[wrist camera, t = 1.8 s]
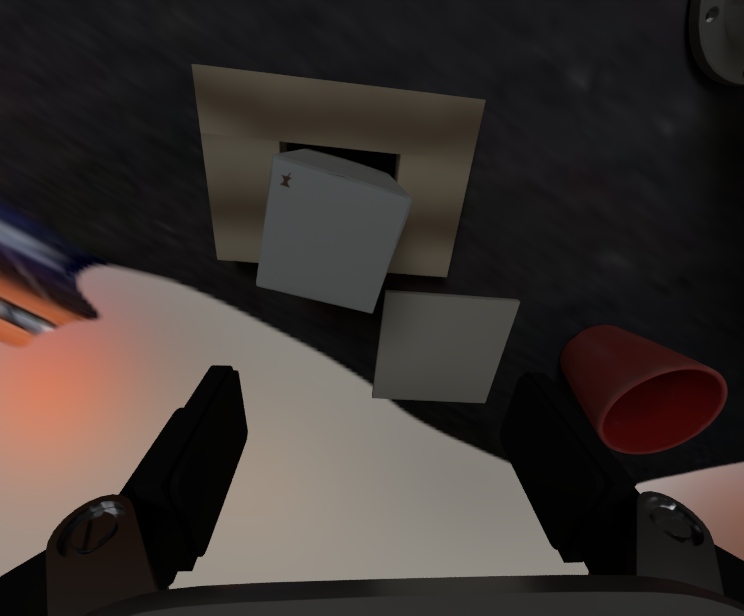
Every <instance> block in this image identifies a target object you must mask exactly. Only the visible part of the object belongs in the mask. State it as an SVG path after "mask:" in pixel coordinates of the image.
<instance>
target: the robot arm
mask: <svg viewBox="0 0 744 616" xmlns="http://www.w3.org/2000/svg"><path fill="white" fill-rule="evenodd" d="M689 41H690V45H691V49H692V54H693V56H694V58H695V60H696V62H697V64H698V66H699V68H700V69H701V70H702V71H703V72H704V73H705V74H706V75H707V76H708V77H709V78H710V79H712V80H714V81H716V82H718V83H720V84H724V85H729V86H744V0H691V6H690V13H689ZM247 434H248V429H247V423H246V416H245V410H244V404H243V397H242V392H241V385H240V378H239V373H238V371H236V370H233V368H232V366H218V365H216V366H215V365H213V366H211V367H210V368H209V370H208V371H207V373H206V374H205V376H204V377H203V379H202V380H201V382H200V384H199V385H198V387H197V388H196V390H195V391H194V393H193V394H192V396H191V397H190V399H189V400H188V402H187V403H186V405H185V407H184V408H179V409H177V410H176V411H175V412H174V413H173V415H172V416H171V418H170V419H169V421H168V422H167V424H166V425H165V427H164V428H163V430H162V431H161V433H160V434H159V436H158V437H157V439H156V440H155V441H154V443H153V444H152V446H151V448H150V449H149V450H148V452H147V453H146V455H145V456H144V458H143V459H142V461H141V462H140V464H139V465H138V467H137V468H136V470H135V471H134V473H133V474H132V476H131V477H130V479H129V480H128V482H127V483H126V484H125V486H124V488H123V489H122V491H121V492H120V494H119V495H114V494H112V495H107V496H101V497H99V498H96V499H94V500H91V501H89V502H87V503H85V504H84V505H82V506H80V507H79V508H77V509H76V510H74V511H73V512H72V513H71V514H69V515H68V516H67V517H66V518H65V519H63V521H62V522H61V523H60V524H59V525H58V526H57V528H56V529H55V530H54V531H53V533H52V535H51V537H50V539H49V541H48V543H47V548H46V550H44V551H43V552H41V553H39V554H38V555H36V556H34V557H33V558H31V559H29V560H27V561H26V562H24V563H23V564H21V565H19V566H17V567H16V568H14V569H12V570H11V571H9V572H8V573H6V574H4V575H2V576H1V577H0V616H744V561H743V560H741V559H739V558H738V557H736V556H734V555H732V554H731V553H729V552H727V551H725V550H723V549H722V548H720V547H718V546H717V545H715V544H714V542H713V539H712V536H711V534H710V531H709V530H708V529H707V527H706V526H705V524H704V523H703V522H702V521H701V520H700V519H699V518H698V517H697V516H696V515H695V514H694V513H693V512H692V511H691V510H689V509H688V508H687V507H686V506H684V505H683V504H681V503H680V502H678V501H676V500H675V499H673V498H671V497H669V496H666V495H664V494H661V493H657V492H652V491H648V492H643V493H641V494H640V493H639V492H638V491H637V490H636V488H635V486H636V485H637V483H636V482H635V481H634V480H633V479H632V477H631V476H630V475H629V474H628V473H627V471H626V470H625V469H624V468H623V467H622V465H621V464H620V463H619V462H618V461H617V459H616V458H615V457H614V456H613V455H612V453H611V452H610V451H609V450H608V449H607V447H606V446H605V445H604V444H603V442H602V441H601V440H600V439H599V438H598V436H597V435H596V434H595V433H594V432H593V430H592V429H591V428H590V427H589V426H588V424H587V423H586V422H585V421H584V420H583V418H582V417H581V416H580V415H579V414H578V412H577V411H576V410H575V409H574V408H573V406H572V405H571V404H570V403H569V401H568V400H567V399H566V398H565V397H564V395H563V394H562V393H561V392H560V391H559V389H558V388H557V387H556V386H555V385H554V383H553V382H552V381H551V380H550V379H549V377H548V376H547V375H546V374H545V373H531V372H527V373H525V374H524V375H523V377H520V378H519V379H518V381H517V384H516V387H515V390H514V393H513V396H512V398H511V401H510V404H509V407H508V410H507V413H506V416H505V419H504V421H503V424H502V427H501V430H500V441H501V444H502V446H503V448H504V450H505V452H506V454H507V456H508V458H509V460H510V462H511V464H512V467H513V468H514V470H515V472H516V475H517V477H518V479H519V481H520V483H521V485H522V487H523V489H524V491H525V493H526V495H527V497H528V499H529V501H530V503H531V505H532V507H533V510H534V511H535V513H536V515H537V518H538V520H539V522H540V524H541V526H542V528H543V530H544V532H545V534H546V536H547V538H548V540H549V542H550V544H551V546H552V547H553V548H554V549H556V550H558V552H559V554H560V555H561V557H562V559H563V561H564V563H572V562H583V561H584V563H585V565H586V567H587V568H588V570H589V573H588V575H542V576H541V575H540V576H488V577H447V578H407V579H369V580H337V581H304V582H271V583H250V584H230V585H212V586H196V587H187V588H177V589H169V587H168V586H170V585H171V584H172V583H173V582H174V579H175V577H176V574H177V572H178V571H192V570H193V568H194V565H195V562H196V560H197V557H202V556H203V555H204V554H205V552H206V550H207V547H208V545H209V542H210V539H211V536H212V533H213V531H214V528H215V525H216V523H217V520H218V517H219V515H220V512H221V509H222V506H223V504H224V501H225V498H226V495H227V493H228V490H229V487H230V484H231V482H232V478H233V476H234V474H235V470H236V468H237V465H238V462H239V460H240V457H241V454H242V451H243V449H244V446H245V443H246V440H247Z"/></svg>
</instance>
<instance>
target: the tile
mask: <svg viewBox="0 0 744 616" xmlns="http://www.w3.org/2000/svg"><path fill="white" fill-rule="evenodd" d="M519 304H520V301H519V300H518V299H505V298H491V297H477V296H464V295H450V294H436V293H422V292H408V291H395V290H385V296H384V304H383V312H382V320H381V328H380V336H379V344H378V351H377V359H376V367H375V375H374V383H373V391H372V398H382V399H404V400H426V401H448V402H470V403H485V402H486V399H487V396H488V393H489V390H490V387H491V384H492V382H493V379H494V376H495V373H496V370H497V367H498V364H499V361H500V358H501V356H502V353H503V350H504V347H505V344H506V341H507V338H508V335H509V332H510V330H511V327H512V324H513V321H514V318H515V315H516V312H517V309H518V306H519Z"/></svg>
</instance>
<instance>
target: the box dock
mask: <svg viewBox="0 0 744 616" xmlns="http://www.w3.org/2000/svg"><path fill="white" fill-rule="evenodd" d="M192 71H193V78H194V86H195V93H196V101H197V109H198V116H199V124H200V131H201V139H202V146H203V154H204V162H205V169H206V177H207V184H208V192H209V199H210V207H211V215H212V222H213V230H214V237H215V245H216V252H217V260H229V261H242V262H255V263H259V259H260V252H261V244H262V236H263V228H264V219H265V211H266V203H267V194H268V186H269V178H270V170H271V161H272V155H273V154H278V153H283V152H287V142H290V143H300V144H309V145H318V146H328V147H337V148H346V149H356V150H365V151H374V152H384V153H393V154H396V163H395V171H394V180H395V181H396V182H397V183H398V184H399V185H400V186H401V187H402V188H403V189H404V190H405V191H406V192H407V193H408V194H409V195H410V197H411V198H412V199H413V203H412V206H411V209H410V211H409V214H408V217H407V220H406V222H405V225H404V228H403V231H402V233H401V236H400V239H399V241H398V244H397V247H396V249H395V252H394V255H393V258H392V260H391V263H390V266H389V268H388V271H387V273H398V274H411V275H424V276H437V277H447V273H448V269H449V264H450V260H451V255H452V251H453V246H454V242H455V237H456V232H457V228H458V223H459V219H460V214H461V210H462V205H463V201H464V196H465V191H466V187H467V182H468V178H469V173H470V169H471V164H472V160H473V155H474V150H475V146H476V141H477V137H478V132H479V128H480V123H481V118H482V114H483V109H484V105H485V100H481V99H473V98H465V97H457V96H449V95H441V94H432V93H424V92H416V91H408V90H400V89H392V88H384V87H376V86H367V85H359V84H351V83H343V82H335V81H327V80H319V79H311V78H302V77H294V76H286V75H278V74H270V73H262V72H254V71H246V70H237V69H229V68H221V67H213V66H205V65H197V64H192Z"/></svg>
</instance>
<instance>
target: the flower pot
mask: <svg viewBox="0 0 744 616" xmlns="http://www.w3.org/2000/svg"><path fill="white" fill-rule="evenodd" d="M560 366H561V369H562V371H563V373H564V375H565V377H566V379H567V381H568V383H569V384H570V386H571V388H572V390H573V392H574V394H575V396H576V397H577V399H578V401H579V403H580V405H581V406H582V408H583V410H584V412H585V413H586V415H587V417H588V419H589V421H590V422H591V424H592V426H593V428H594V429H595V431H596V433H597V435H598V436H599V438H600V439H601V441H602V442H603V443H604V444H605V445H607V446H608V447H609V448H611V449H613V450H615V451H618V452H622V453H627V454H649V453H655V452H659V451H663V450H666V449H669V448H672V447H675V446H677V445H679V444H681V443H683V442H685V441H687V440H689V439H691V438H692V437H694V436H696V435H697V434H699V433H700V432H701V431H702V430H704V429H705V428H706V427H707V426H708V425H710V424H711V423H712V421H713V420H714V419H715V418H716V417H717V416H718V414H719V413H720V411H721V410H722V408H723V406H724V404H725V401H726V397H727V385H726V382H725V380H724V378H723V377H722V376H721V375H720V374H719V373H718V372H717V371H715V370H714V369H712V368H710V367H708V366H706V365H704V364H702V363H699V362H697V361H695V360H693V359H691V358H689V357H686V356H684V355H682V354H680V353H677V352H675V351H673V350H670V349H668V348H666V347H664V346H661V345H659V344H657V343H654V342H652V341H650V340H648V339H645V338H643V337H640V336H638V335H636V334H633V333H631V332H628V331H626V330H623V329H621V328H618V327H616V326H612V325H598V326H594V327H590V328H587V329H585V330H583V331H581V332H580V333H578V334H577V335H576V336H575V337H574V338H572V339H571V340H570V341H569V342H568V343H567V344H566V345H565V347H564V349H563V350H562V353H561V356H560Z"/></svg>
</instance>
